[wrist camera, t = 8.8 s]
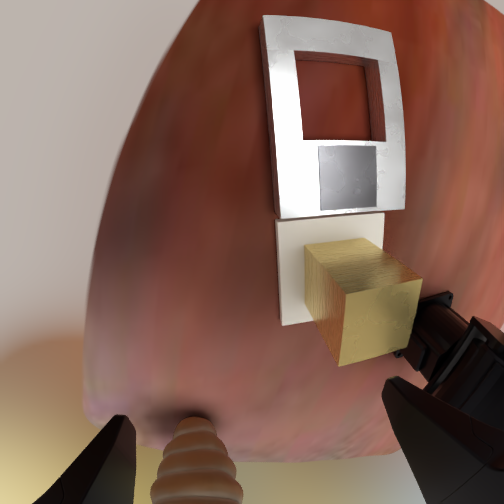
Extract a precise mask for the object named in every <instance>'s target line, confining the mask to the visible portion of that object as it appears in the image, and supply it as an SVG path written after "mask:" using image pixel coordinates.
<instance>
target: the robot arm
mask: <svg viewBox="0 0 504 504" xmlns="http://www.w3.org/2000/svg"><path fill="white" fill-rule="evenodd" d="M452 299H453V293H451V292H446V293H442V294H439V295H436V296H432V297H428V298H425V299H421V300H418V305H417V309H416V314H415V318H414V322H413V326H412V330H411V334H410V338H409V341H408V345H407V347H406V348H403V349H400V350H396V351H394V356H395V357H396V358H399V357H402V356H404V357H405V358H406V360H407V361H408V362H409V363H410V365H411V366H412V367H413V369H414V370H415V371H420V373H421V374H422V375H423V376H424V378H425V379H426V380H427V381H428V384H427V385H426V386H425V388H424V389H423V390H422V389H420V388H418V387H416V386H415V385H413V384H411V383H409V382H408V381H406V380H404V379H402V378H401V377H399V376H394V377H391V378H388V379H387V380H386V381H385V385H384V388H383V391H382V400H383V403H384V406H385V409H386V411H387V414H388V417H389V420H390V423H391V426H392V429H393V431H394V434H395V436H396V438H397V440H398V442H399V444H400V446H401V448H402V450H403V453H404V454H405V457H406V459H407V461H408V463H409V465H410V468H411V470H412V472H413V474H414V476H415V478H416V481H417V483H418V485H419V488H420V490H421V492H422V494H423V497H424V499H425V501H426V504H504V333H503V332H502V331H501V330H499V329H498V328H497V327H496V326H494V325H493V324H492V323H490V322H487V321H485V320H482V319H480V318H478V317H475V316H473V317H472V318H471V320H470V323H468V322H467V321H466V320H465V319H464V318H462V317H461V316H460V315H459V314H458V313H456V312H455V311H454V310H453V309H452V308H450V307H451V303H452ZM135 476H136V430H135V428H134V426H133V424H132V423H131V421H130V420H129V418H128V417H127V416H126V415H118V414H117V415H114V416H113V417H112V418H111V420H110V421H109V422H108V423H107V424H106V425H105V426H104V428H103V429H102V430H101V431H100V432H99V433H98V434H97V435H96V437H95V438H94V439H93V440H92V441H91V442H90V443H89V445H88V446H87V447H86V448H85V449H84V450H83V451H82V452H81V454H80V455H79V456H78V457H77V458H76V459H75V461H73V463H72V464H71V465H70V466H69V467H68V468H67V469H66V470H65V472H64V473H63V474H62V475H61V477H60V478H58V479H57V480H56V482H55V483H54V484H53V485H52V486H51V487H50V488H49V489H48V490H47V491H46V492H45V493H44V494H43V495H42V496H41V497H39V498H38V499H37V500H36V501H35V502H34V503H32V504H133V499H134V486H135Z"/></svg>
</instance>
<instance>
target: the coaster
mask: <svg viewBox="0 0 504 504" xmlns="http://www.w3.org/2000/svg"><path fill="white" fill-rule="evenodd" d="M275 227H276V244H277V262H278V283H279V305H280V321H281V324H282V326H284V325H290V324H296V323H302V322H308V321H314V320H313V318H312V316H311V315H310V313H309V311H308V309H307V307H306V305H305V269H304V245H307V244H315V243H323V242H332V241H340V240H349V239H357V238H366V239H367V240H369V241H370V242H372V243H373V244H375V245H376V246H378V247H379V248H380V249H382V246H383V231H384V212H381V211H368V212H355V213H343V214H331V215H320V216H309V217H298V218H288V219H275Z"/></svg>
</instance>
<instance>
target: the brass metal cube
mask: <svg viewBox="0 0 504 504" xmlns="http://www.w3.org/2000/svg"><path fill="white" fill-rule="evenodd" d="M304 269H305V305H306V307H307V309H308V311H309V313H310V315H311V316H312V318H313V320H314V322H315V324H316V326H317V328H318V329H319V331H320V333H321V335H322V337H323V339H324V341H325V343H326V344H327V346H328V348H329V350H330V352H331V354H332V356H333V358H334V359H335V361H336V363H337V365H338V367H339V366H343V365H347V364H351V363H355V362H359V361H363V360H366V359H370V358H373V357H377V356H380V355H384V354H387V353H390V352H393V351H396V350H400V349H403V348H406V347H407V345H408V341H409V338H410V334H411V330H412V326H413V322H414V318H415V314H416V309H417V305H418V300H419V295H420V290H421V285H422V279H423V278H421V277H420V276H419V275H417V274H416V273H415V272H413V271H412V270H410V269H409V268H408V267H406V266H405V265H403V264H402V263H401V262H399V261H398V260H396V259H395V258H394V257H392V256H391V255H389V254H388V253H386V252H385V251H383V250H382V249H380V248H379V247H378V246H376V245H375V244H373V243H372V242H370V241H369V240H367V239H366V238H357V239H349V240H340V241H332V242H323V243H315V244H307V245H304Z"/></svg>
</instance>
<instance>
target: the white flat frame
mask: <svg viewBox="0 0 504 504" xmlns="http://www.w3.org/2000/svg"><path fill="white" fill-rule="evenodd" d="M258 28H259V37H260V46H261V55H262V65H263V75H264V85H265V96H266V106H267V118H268V130H269V142H270V154H271V167H272V181H273V196H274V211H275V213H276V214H277V215H278V216H279V218H280V219H288V218H298V217H309V216H320V215H331V214H343V213H355V212H368V211H382V210H397V209H405V177H406V167H405V134H404V119H403V107H402V97H401V89H400V81H399V74H398V67H397V61H396V56H395V50H394V45H393V40H392V35H391V32H387V31H383V30H379V29H375V28H371V27H366V26H361V25H356V24H351V23H345V22H339V21H333V20H325V19H317V18H307V17H295V16H274V15H263V17H262V19H261V22H260V25H259V27H258ZM295 60H309V61H324V62H335V63H344V64H352V65H359V66H364V69H365V76H366V84H367V92H368V102H369V113H370V126H371V141H351V140H307V141H303V137H302V124H301V112H300V101H299V91H298V82H297V72H296V64H295Z"/></svg>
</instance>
